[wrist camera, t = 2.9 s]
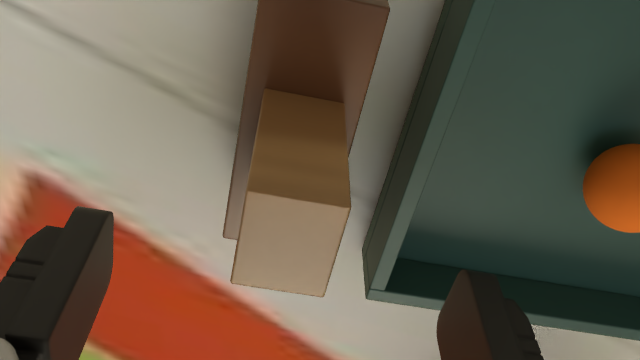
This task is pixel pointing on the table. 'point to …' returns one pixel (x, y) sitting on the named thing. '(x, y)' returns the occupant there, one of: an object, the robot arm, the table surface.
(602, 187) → the ball
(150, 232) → the table surface
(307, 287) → the brush
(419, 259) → the tray
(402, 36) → the table surface
